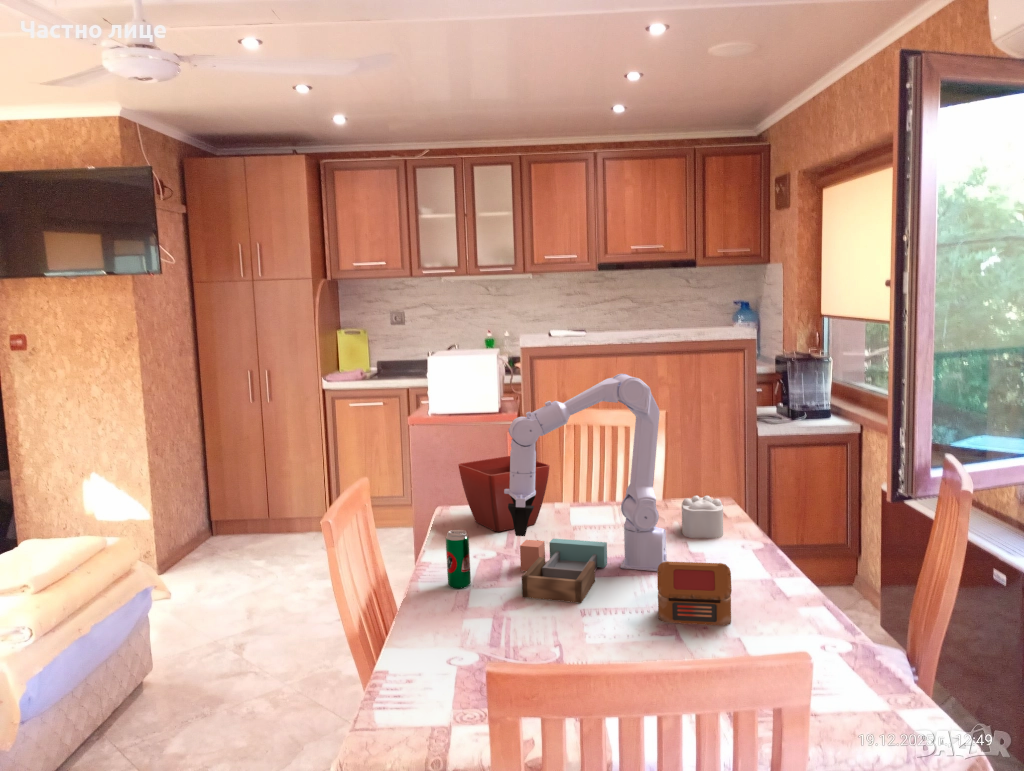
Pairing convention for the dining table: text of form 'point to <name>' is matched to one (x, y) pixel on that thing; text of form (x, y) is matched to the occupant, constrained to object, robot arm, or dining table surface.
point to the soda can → (458, 559)
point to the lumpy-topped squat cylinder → (702, 517)
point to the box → (694, 593)
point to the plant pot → (497, 491)
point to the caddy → (557, 584)
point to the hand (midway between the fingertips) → (521, 530)
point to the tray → (573, 557)
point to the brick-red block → (531, 553)
